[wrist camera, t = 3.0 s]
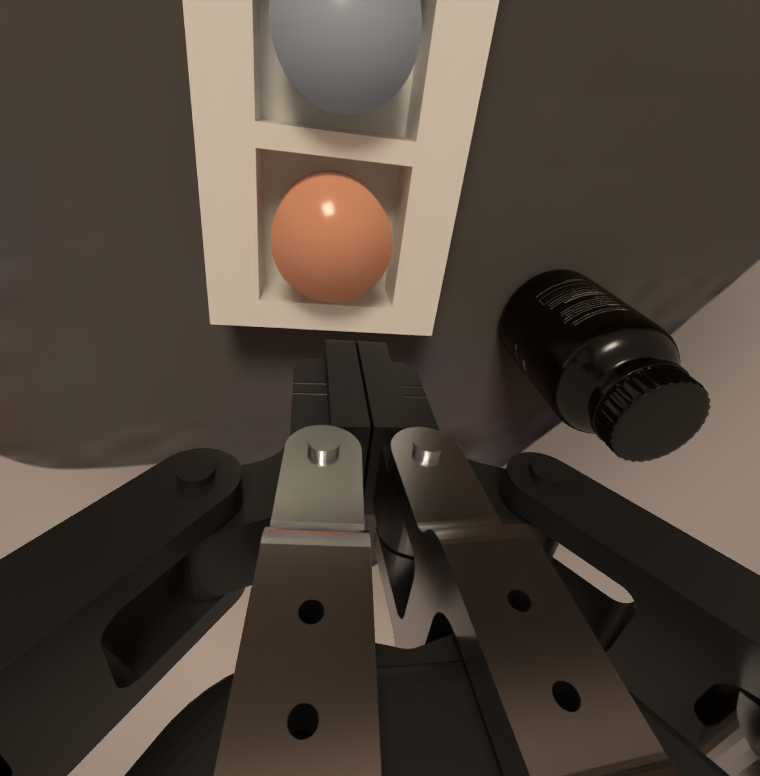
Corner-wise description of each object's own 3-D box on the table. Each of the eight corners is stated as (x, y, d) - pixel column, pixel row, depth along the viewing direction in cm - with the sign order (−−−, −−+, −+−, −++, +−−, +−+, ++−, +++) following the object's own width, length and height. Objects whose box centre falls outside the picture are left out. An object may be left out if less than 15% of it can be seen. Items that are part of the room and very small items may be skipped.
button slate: (273, -74, 17) (268, -98, 15) (419, -44, 18) (434, -62, 16) (273, 103, 20) (269, 104, 18) (398, 120, 21) (409, 124, 19)
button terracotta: (274, 163, 21) (270, 172, 19) (391, 177, 22) (400, 186, 20) (274, 279, 24) (270, 298, 22) (378, 287, 25) (384, 306, 23)
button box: (164, -553, 13) (116, -770, 10) (545, -411, 15) (610, -551, 12) (222, 295, 27) (210, 324, 24) (417, 308, 29) (431, 336, 26)
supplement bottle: (480, 348, 31) (560, 468, 21) (525, 254, 28) (644, 343, 18) (563, 368, 33) (672, 486, 23) (614, 281, 30) (767, 375, 20)
